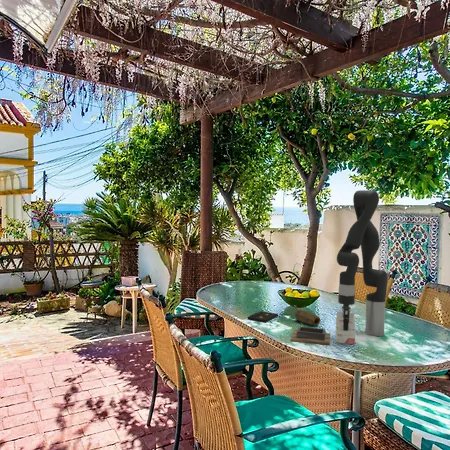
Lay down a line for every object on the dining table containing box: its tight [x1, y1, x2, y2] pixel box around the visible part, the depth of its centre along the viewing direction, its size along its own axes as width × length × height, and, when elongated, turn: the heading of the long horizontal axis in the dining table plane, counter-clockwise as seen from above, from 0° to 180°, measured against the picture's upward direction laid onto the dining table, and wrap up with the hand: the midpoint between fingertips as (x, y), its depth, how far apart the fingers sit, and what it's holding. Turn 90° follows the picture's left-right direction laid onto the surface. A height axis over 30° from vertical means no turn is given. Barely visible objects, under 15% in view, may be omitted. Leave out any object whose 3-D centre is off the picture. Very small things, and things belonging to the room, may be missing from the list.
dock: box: [290, 326, 331, 346], centre depth 191 cm, size 16×18×4 cm
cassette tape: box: [247, 310, 279, 323], centre depth 228 cm, size 18×12×2 cm, turn 149°
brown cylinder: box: [294, 309, 321, 327], centre depth 218 cm, size 15×7×7 cm, turn 37°
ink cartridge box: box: [335, 311, 356, 345], centre depth 187 cm, size 9×5×15 cm, turn 68°
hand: (345, 328), depth 187 cm, fingers closed on ink cartridge box, 5 cm apart
